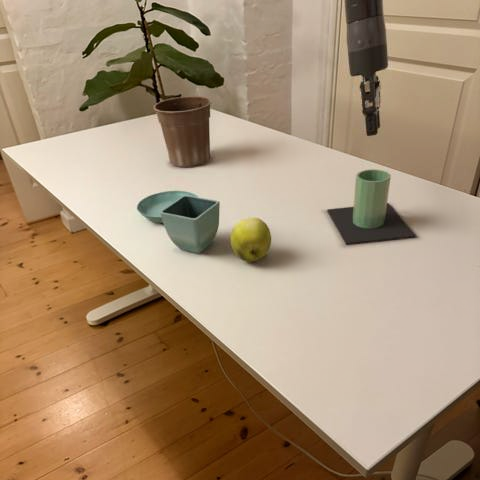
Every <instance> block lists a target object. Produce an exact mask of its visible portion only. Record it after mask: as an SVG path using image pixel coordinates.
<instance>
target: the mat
mask: <svg viewBox="0 0 480 480" xmlns="http://www.w3.org/2000/svg"><path fill="white" fill-rule="evenodd" d="M353 207H354V206H348V207H338V208H329V209H328V208H327V210H326V211H327V214H328V215H329V217H330V219H331V221H332V222H333V224H334V226H335V227H336V229H337V231H338V233H339V235H340V237H341V238H342V240H343V242H344V244H345V246H349V245H350V246H351V245H360V244H368V243H369V244H370V243H377V242H378V243H379V242H387V241H396V240H397V241H398V240H405V239H414V238H416V233H414V232H413V231H412V229H411V228H410V227H409V225H408V224H407V223H406V222H405V221H404V220H403V219H402V218H401V216H400V215H399V213H398V212H396V210H395V209H394V208H393V207H392V206H391V204H390V203H389V202H387V208H386V216H385V223H384V224H383V225H382V226H380V227H378V228H361V227H358V226H356V225H355V224H354V223H353Z"/></svg>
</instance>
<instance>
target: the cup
mask: <svg viewBox="0 0 480 480" xmlns="http://www.w3.org/2000/svg"><path fill="white" fill-rule="evenodd" d="M391 177H392V175H391V174H390V172H388V171H385V170H383V169H382V170H381V169H364V170H361V171H358V172H357V173H356V175H355V182H354V183H355V185H354V197H353V206H352V207H353V223H354V224H355V225H356V226H358V227H361V228H378V227H380V226H382V225H383V224H384V223H385V216H386V208H387V203H388V198H389V191H390V184H391Z"/></svg>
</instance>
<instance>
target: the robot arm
mask: <svg viewBox="0 0 480 480" xmlns="http://www.w3.org/2000/svg"><path fill="white" fill-rule="evenodd" d="M344 10H345V12H344V13H345V23H346V47H347V57H348V59H347V60H348V69H349V75H350V77H359V76H361V78H362V81H360V84H359V85H358V86H359V94H360V104H361V107H362V110H361V113H362V115H363V118H364V120H365V121H364V123H365V132H366V133H365V134H366V136H367V137H372V136H376V135H378V133H379V129H380V128H381V118H380V117H381V116H380V108H381V102H382V101H381V100H382V95H381V89H382V87H381V86H382V83H381V80H379V79H380V78H379V76H378V75H377V72H380V71H384V70H386V69H388V67H389V57H388V56H389V53H388V40H387V27H386V22H385V16H384V1H383V0H344Z"/></svg>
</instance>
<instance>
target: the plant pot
mask: <svg viewBox="0 0 480 480" xmlns="http://www.w3.org/2000/svg"><path fill="white" fill-rule="evenodd" d="M211 105H212V99H210V98H209V97H206V96H197V95H196V96H194V95H193V96H191V95H190V96H177V97H172V98H167V99H164V100H160V101H159V102H158V103H155V104H154V105H153V110H154V111H155V113H156V117H157V121H158V123H159V124H160V128H161V131H162V135H163V140H164V143H165V146H166V150H167V151H166V152H167V154H168V159H169V162H170V164H171V165H172V166H174V167H176V168H177V167H178V168H193V167H196V165H199V166H201V165H204V164H206V163H208V162H209V161H210V159H211V137H210V135H211V134H210V133H211V132H210V118H211Z"/></svg>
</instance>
